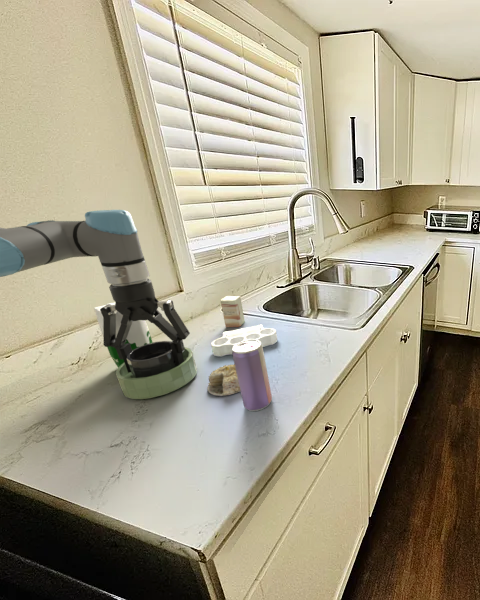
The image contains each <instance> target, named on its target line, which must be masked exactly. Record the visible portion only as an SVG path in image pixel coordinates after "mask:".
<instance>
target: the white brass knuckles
mask: <svg viewBox="0 0 480 600" xmlns="http://www.w3.org/2000/svg"><path fill="white" fill-rule="evenodd" d="M245 340H258V341H260V342H261V345H262V347H263V348H265V347H268V346H273V345H275V344H277V342H278V334H277V330H276V329H275V328H272V327H264V326H263V324H258V325H253V326H248V327H241V328H239V329H232V330H228V331H223V332H222V336H221V337H218V338H216V339H214V340H213V341H211V343H210V345H211V349H212V350H211V351H212V354H213V356H215V357H219V358H220V357H224V356H229V355H232V352H233V350H232V348H233V346H234V345H236V344H237V343H239V342H242V341H245ZM232 356H233V355H232Z"/></svg>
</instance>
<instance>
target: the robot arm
mask: <svg viewBox="0 0 480 600" xmlns="http://www.w3.org/2000/svg"><path fill="white" fill-rule="evenodd" d="M84 218H85V219H84V220H43V221H32V222H30V223H28V224H27V225H22V226H15V227H8V228H5V227H0V278H1V277H8V276H11V275H14V274H17V273H20V272H23V271H27V270H31V269H34V268H36V267H37V268H38V267H40V266H45V265H48V264H52V263H57V262H60V261H63V260H67V259H72V258H84V257H87V258H88V257H98V260H99V263H100V265H101V268H102V270H103V273H104V276H105V279H106V282H107V283H108V284H109V286H108V288H109V290H110V294H111V297H112V300H113V301H114V302H115V305H111V304H108V303H107V304H108V305H106V304H105V305H106V306H104V307H103V308H101V309H100V311H101V313H102V315H103V331H104V337H103V346H104V347H105V348H107V347H109V346H111V347H114V348H116V351H117V353H118V356H119V358H120V359H123V360H124V362H125V365H126V368H127V371H128V372H131V370H130V367H129V364H128V361H127V355H128V354H129V353H130V352H131V351H132V349H131V346H130V343H126V344H124V343H125V342H126V338H127V336H128V333H129V330H130V327H131V325H132V322H133V321H138V320H146V321H148V322H149V323H150V324H153V325H155V326H156V327H157V328H158V329H159V330H160V331H161V332H162V333H163V334H164V335H165V336H166V337H167V338H168V339H170V340H171V341H172V342H171V343H170V346H171V349H172V352H173V356H174V359H175V363H176V366H179V365H180V364H181V363H183V362H184V358H183V354H182V353H183V351H184V350H185V344H184V340H186V339H187V338H188V337H189V336H190V334H191V332H190V331H189V329H188V328H187V326H186V325H185V323H184V321H183V320H182V318H181V316H180V315H179V313H178V312H177V310H176V308H175V306H174V301H173V300H172V299H168V300H163V301H160V300H158V298H157V297H156V293H155V289H154V285H153V282H152V279H150V276H151V274H150V272H149V269H148V266H147V262H146V259H145V256H144V253H143V250H142V246H141V242H140V238H139V234H138V228H137V227H136V225H135V222H134V220H133V219H134V218H133V217H132V214H131V213H130V212H129V211H127V210H125V209H100V210H90V211H86V212H85V213H84ZM158 309H160V310H161V311H162V312H164V316H165V317H166V318H167V319H166V318H165V317H164V316H163V314H162V313H161V312H160V311H159V310H158ZM117 311H118V312H119V313H121V314H122V315H123V317H122V320H121V325H120V328H119V331H118V334H117V337H116V312H117Z"/></svg>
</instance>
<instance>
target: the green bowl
mask: <svg viewBox="0 0 480 600" xmlns="http://www.w3.org/2000/svg"><path fill="white" fill-rule="evenodd" d="M184 347H185V346H184ZM182 354H183V358H184V362H183V363H181V364H180V365H179V366H177V367H175V368H173V369H171V370H169V371H166V372H163V373H160V374H157V375H153V376H149V377H143V378H135V377H133V376H132V373H131V372H128V371H127V368H126V365H125V362H124V363H123V364H122V365H120V366H119V367H117V369H116V371H115V375H116V378H117V381H118V383H119V386H120V388H121V391H122V394H123V396H124V397H126V398H127V399H131V400H144V399H145V400H146V399H153V398H156V397H160V396H164V395H167V394H169V393H172V392H174V391H176V390H179V389H180V388H182V387H184V386H186V385H187V384H188V383H190V382H191V381H192V380H193V379H194V378H195V377H196V375H197V373H198V367H197V364H196V361H195V357H194V353H193V351H192V350H191V348H189V347H185V350H184V351H183V353H182Z"/></svg>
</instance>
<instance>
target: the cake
mask: <svg viewBox="0 0 480 600" xmlns="http://www.w3.org/2000/svg"><path fill="white" fill-rule="evenodd" d="M207 384H208V385H207V386H206V387H207V388H206V389H207V392H208V393H209V394H211V395H212V396H217V397H218V396H219V397H222V396H223V397H224V396H230V395H234V394H237V393H241V391H240V386H239V382H238V377H237V373H236V368H235V364H234V363H233V364H228V365H227V364H225V365H223V366H219V367H218V368H217V369H215V370H212V372H211V373H210V374H209V376H208V383H207Z"/></svg>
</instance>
